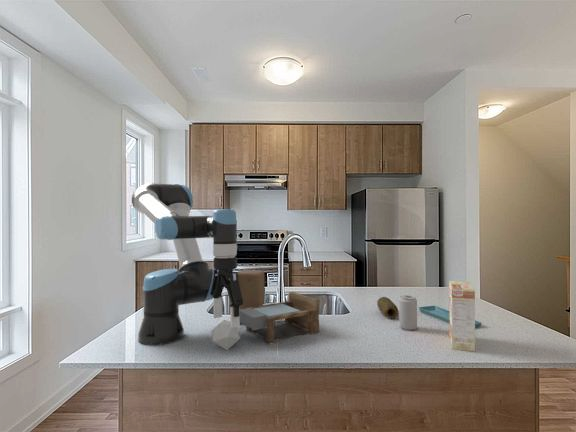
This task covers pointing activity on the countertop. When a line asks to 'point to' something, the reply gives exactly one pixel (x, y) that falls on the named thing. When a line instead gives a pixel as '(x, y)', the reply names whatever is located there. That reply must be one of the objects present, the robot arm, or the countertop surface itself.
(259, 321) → the gray rectangular slab
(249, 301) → the wooden block
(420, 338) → the countertop surface
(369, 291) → the countertop surface
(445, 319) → the teal serving tray
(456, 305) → the coffeecake box
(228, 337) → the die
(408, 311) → the beverage can
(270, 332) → the frame
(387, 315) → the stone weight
